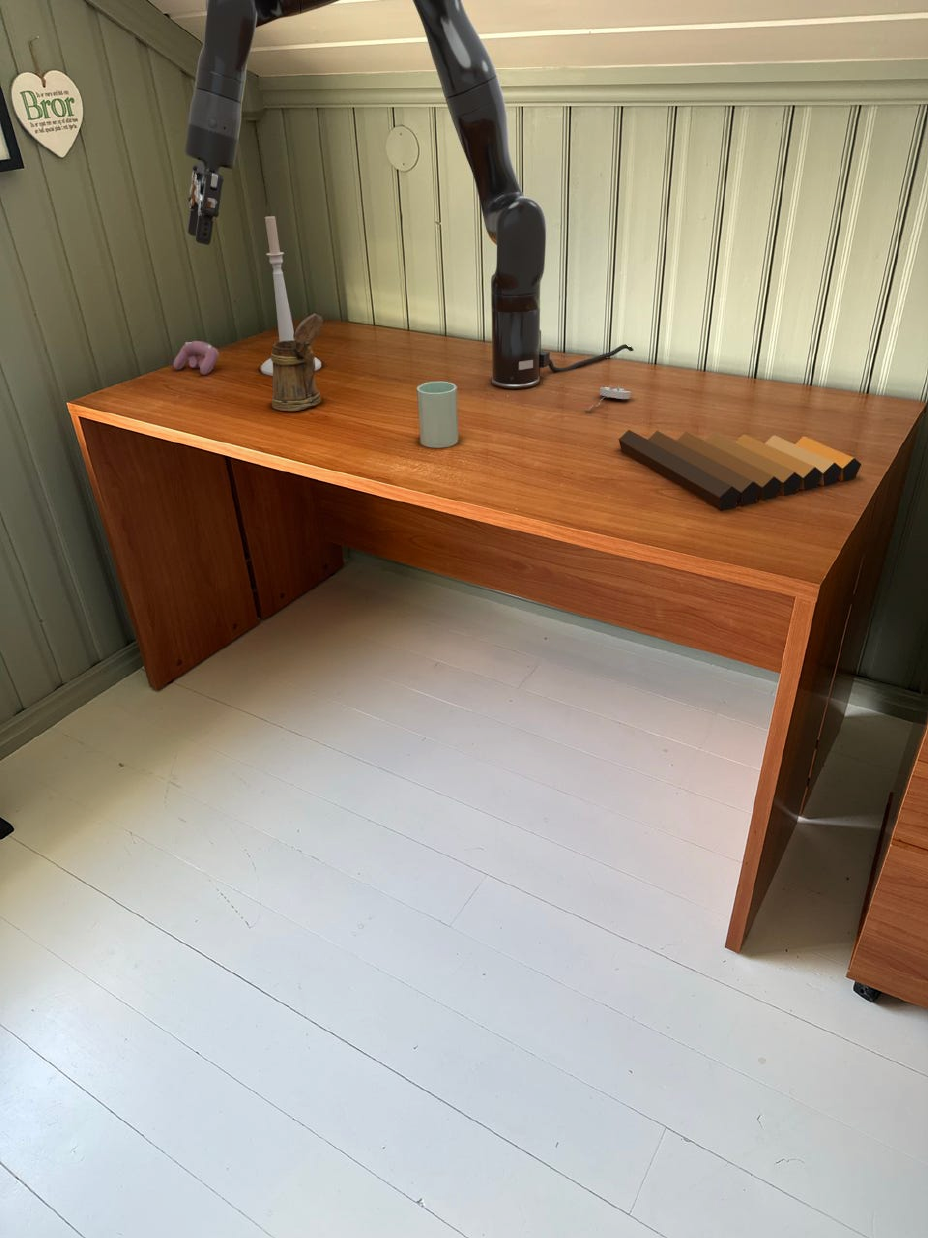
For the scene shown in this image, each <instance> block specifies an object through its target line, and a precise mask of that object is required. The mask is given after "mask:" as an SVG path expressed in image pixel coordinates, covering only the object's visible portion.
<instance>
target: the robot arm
mask: <svg viewBox="0 0 928 1238" xmlns="http://www.w3.org/2000/svg"><path fill="white" fill-rule="evenodd" d="M339 1H341V0H204V4H205V11H206V18H205V26H204V36H203V44H202V48H201V51H200V53H199V57H198V62H197V68H196V75H195V84H194V88H193V89H194V90H193V95H192V98H191V102H190V107H189V115H188V122H187V131H186V139H185V145H184V154H185V155H186V156H187V157H190V158H193V159H195V160H198V163H197V164H193V165H192V174H191V181H190V187H189V195H188V198H187V201H188V207H189V209H190V210H189V217H188V225H187V234H189V235H190V236H193V237H195V238H194V240H195V241H196V242H197V243H199V244H202V245H206V246H208V245H210V244H211V240H212V233H213V227H214V221H216V219H217V218H218V217H219V215H220V204H221V197H222V190H223V183H224V180H225V179H224V176H223V175H221V174H220V168H225V169H229V170H232V169H234V168H235V163H236V156H237V152H238V151H237V150H238V144H239V138H240V132H241V124H242V109H243V108H242V107H243V105H242V104H243V100H244V93H245V87H246V79H247V67H248V60H249V57H250V54H251V50H252V46H253V41H254V38H255V37H254V36H255V31H256V28H260V27H262V26H265V25H267V24H270V23H272V22H274V21H277V20H279V19H284V18H285V19H286V18H289V17H290V18H291V17H295V16H299V15H303V14H306V13H309V12H311V11H315V10H319V9H321V8H325V7H327V6H329V5H332V4H335V3H338V2H339ZM412 2H413V5H414V7H415V9H416V12H417V14H418V17H419V19H420V21H421V25H422V27H423V30H424V33H425V36H426V40H427V43H428V47H429V50H430V51H429V52H430V54H431V57H432V60H433V64H434V68H435V71H436V72H437V76H438V79H439V83H440V85H441V89H442V93H443V97H444V100H445V103H446V105H447V108H448V111H449V114H450V117H451V121H452V123H453V126H454V128H455V132H456V134H457V136H458V140H459V142H460V145H461V148H462V151H463V153H464V156H465V158H466V161H467V164H468V165H469V168H470V171H471V174H472V176H473V180H474V183H475V186H476V191H477V195H478V200H479V203H480V208H481V213H482V218H483V222H484V226H485V230H486V233H487V235H488V237H489V238H490V240H491V241H492V243H493V244H495V245H496V267H495V271H494V273H493V274H492V275H491V277H490V278H491V279H490V297H491V298H490V299H491V301H490V303H491V304H490V305H491V308H490V309H491V366H492V367H491V368H492V372H491V373H492V375H491V376H492V377H491V384H492V385H493V386H497V387H499V388H502V389H526V388H531V387H534V386H537V385H538V384H540V379H541V371H542V370H541V369H542V368H546V367H549V369H550V371H552V372H554V373H561V372H562V373H563V372H568V371H572V370H575V369H578V368H580V367H582V366H585V365H588V364H592V363H595V362H598V361H601V360H604V359H606V358H610V357H612V356H615V355H616V354H618V353H620V352H621V351H623V350H625V349H626V350H627V351H629V352H634V351H635V350H634V348H633V347H632V346H631V347H628V346H627V345H626V344H627V343H625V344H621V345H619V346H618V347H616V348H614V349H613V350H611V351H608V352H606V353H601V354H600V355H597V356H594V357H590V358H587V359H584V360H580V361H578V362H576V363H573V364H572V365H569V366H566V367H561V368H560V367H557V366H554V364H553V361H552V359H550V356H551V355H550V351H545V350H544V351H542V331H541V283H542V280H543V277H544V273H545V268H546V267H545V265H546V246H547V222H546V221H547V220H546V215H545V212H544V210H543V208H542V207H541V206H540V204H539V203H538V202H536V201H535V200H534V199H532V198H529V197H526V196H525V195H524V194H523V191H522V189H521V186H520V184H519V182H518V179H517V175H516V172H515V170H514V167H513V163H512V159H511V158H512V157H511V152H510V141H509V140H510V139H509V123H508V113H507V107H506V102H505V98H504V95H503V90H502V88H501V84H500V81H499V77H498V75H497V70H496V68H495V65H494V63H493V60H492V58H491V56H490V54H489V51H488V50H487V48H486V46H485V44H484V43H483V40H482V39H481V37H480V35H479V34H478V32H477V30H476V28H475V27H474V25H473V23H472V22H471V20H470V18H469V16H468V14H467V11H466V9H465V6H464V5H463V1H462V0H412Z"/></svg>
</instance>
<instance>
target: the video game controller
mask: <svg viewBox="0 0 928 1238" xmlns="http://www.w3.org/2000/svg"><path fill="white" fill-rule="evenodd" d="M219 356H220V354H219V350H218V349H217V348H216V347H214V346H213V345H211V344H210V343H208V342H206V341H201V340H193V341H190V342H189V341H186V342H185V343H184V344H183V345H182V347H181V348H180V350H179V352H178V354H177V355H176V356H175V358H174V360H173V363H172V365H173V369H174V370H175V371H179V370H180V371H181V370H182V369H183V368H184V367H185V366H187V364H188V365H189V367H190V368H193V369H199V372H200V374H201V375H203V376H206V375H208V374H210V373H211V372H212V370H213V369H214V367H215V366H216V364H217V363H216V362H217V361H218V359H219ZM200 357H202V358H201V359H200Z"/></svg>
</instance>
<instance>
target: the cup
mask: <svg viewBox="0 0 928 1238" xmlns="http://www.w3.org/2000/svg"><path fill="white" fill-rule="evenodd" d="M416 402H417V416H418V417H417V418H418V431H419V434H418V435H419V443H420V444H421V445H422V446H424V447H428V448H432V449H433V448H434V449H436V448H437V449H438V448H439V449H441V448H448V447H451V446H455V445H456V444H458V442H459V437H460V434H459V433H460V432H459V405H458V386H457V385H456V384H455V383H453V382H447V381H429V382H425V383H422V384H419V385H418V386H417V387H416Z"/></svg>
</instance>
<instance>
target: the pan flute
mask: <svg viewBox="0 0 928 1238" xmlns="http://www.w3.org/2000/svg"><path fill="white" fill-rule="evenodd" d="M618 442H619V446H620V447H619V448H620V451H621V453H623V454H625V455H627V456H628V457H630V458H632V459H633V460H635V461H637V462H638V463H640V464H641V465H644V466H646V467H647V468H648V469H651V470H652V471H653V472H655V473H657V474H658V475H661V476H662V477H663V478H666V479H667V480H669V481H670V482H672V483H674V484H675V485H677V486H679V487H680V488H683V489H684V490H685V491H687V492H689V493H691V494H693V495H694V496H696V497H698V498H699V499H701V500H702V501H704V502H705V503H708V504H709V505H711V506H713V507H714V508H716V509H718V510H719V511H721V512H722V511H726V510H731V509H735V508H736V506H737V504H739V505H741V506H747V505H752V504H756V503H757V501H758V499H760V500H762V501H768V500H772V499H773V500H774V499H776V498H778V495H779V494H780V495H782V496H784V497H785V496H790V495H793V494H797V493H798V491H799V489H800V490H801V491H804V492H806V491H810V490H813V489H817V488H818V486H819V485H820V486H823V487H827V486H830V485H835V484H837V482H838V480H839V481H841V482H847V481H850V480H851V481H852V480H855V479H856V477H857V475H858V473H859V471H860V468H861V466H862V463H861V461H859V460H857V459H856V458H855V457H854V456H851V455H849V454H847V453H844V452H842V451H840V450H837V449H835V448H832V447H830V446H828V445H826V444H823V443H821V442H819V441H816V440H815V439H811V438H809V437H807V436H802V437H801V438H800V439H799V440H798V441H797V442H796V443H793V442H790V441H788V440H786V439H784V438H781V437H780V436H777V435H775V434H773V435H772V436H771V437H770V438H769V439H767V441H765V442H762V441H760V440H758V439H756V438H754V437H753V436H752V437H751V436H750V435H747V434H745V433H743V434H742V435H741V436H739V438H738V439H737V440H736V441H732V440H731V439H728V438H726V437H724V436H722V435H720V434H718V433H716V432H714V433H713V434H711V436H710V437H709V438H707V439H706V440H703V439H702V438H699V437H697V436H695V435H694V434H692V433H690V432H687V431H685V432H683V434H681V436H680V437H679V438H677V440H676V439H674V438H672V437H670V436H668V435H666V434H664V433H662V432H660V431H659V430H656V431H655V432H654V433H653V434H652V435H651V436H650V437H649V438H648V439H647V438H645V437H643V436H641V435H639V434H638V433H636V432H634V431H632V430H631V429H628V430H627V431H626V432H625V433H624V434H623V435H621V437H620V438H619V439H618Z"/></svg>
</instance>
